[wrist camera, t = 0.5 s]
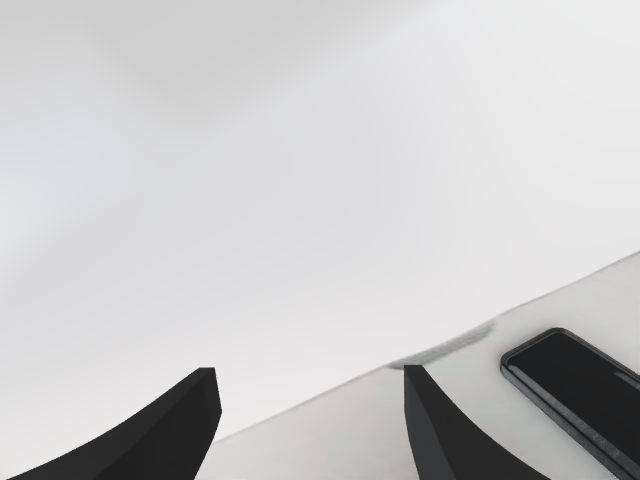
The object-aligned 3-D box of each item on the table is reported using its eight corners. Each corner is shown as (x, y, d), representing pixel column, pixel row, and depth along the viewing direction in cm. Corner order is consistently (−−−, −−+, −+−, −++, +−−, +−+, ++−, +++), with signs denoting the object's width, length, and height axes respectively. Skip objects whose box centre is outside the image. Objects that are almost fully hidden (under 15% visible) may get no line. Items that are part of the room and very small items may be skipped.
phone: (715, 551, 19) (494, 358, 31) (708, 559, 19) (494, 367, 32) (800, 476, 20) (559, 323, 33) (791, 485, 21) (557, 331, 34)
